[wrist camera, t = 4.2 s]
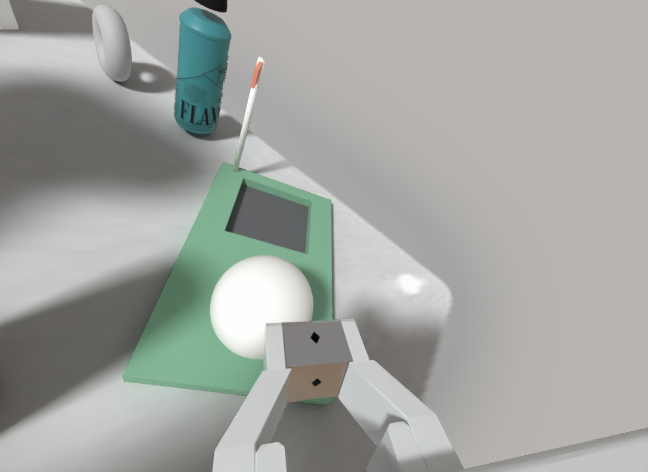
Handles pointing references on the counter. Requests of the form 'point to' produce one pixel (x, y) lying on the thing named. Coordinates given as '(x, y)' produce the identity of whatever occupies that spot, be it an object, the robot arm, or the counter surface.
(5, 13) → the milk
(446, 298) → the counter surface
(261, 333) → the ball
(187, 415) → the counter surface
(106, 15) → the donut
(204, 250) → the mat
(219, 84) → the beverage bottle
